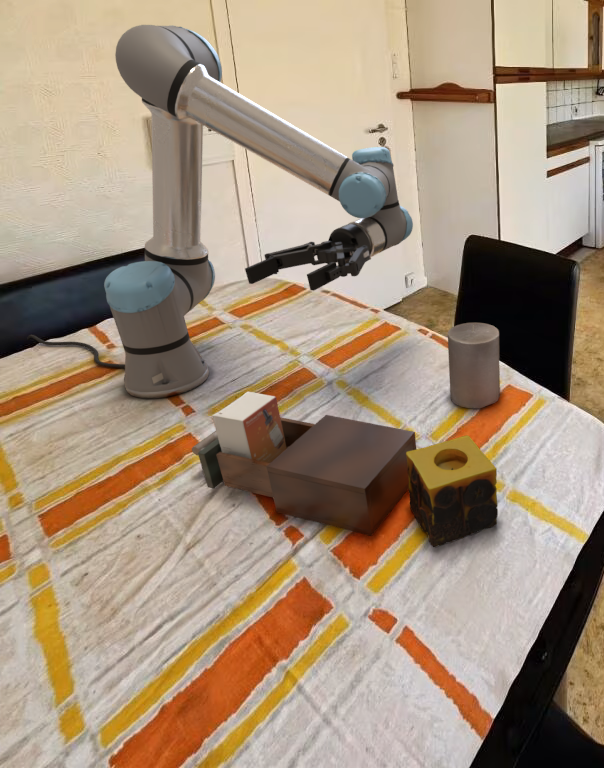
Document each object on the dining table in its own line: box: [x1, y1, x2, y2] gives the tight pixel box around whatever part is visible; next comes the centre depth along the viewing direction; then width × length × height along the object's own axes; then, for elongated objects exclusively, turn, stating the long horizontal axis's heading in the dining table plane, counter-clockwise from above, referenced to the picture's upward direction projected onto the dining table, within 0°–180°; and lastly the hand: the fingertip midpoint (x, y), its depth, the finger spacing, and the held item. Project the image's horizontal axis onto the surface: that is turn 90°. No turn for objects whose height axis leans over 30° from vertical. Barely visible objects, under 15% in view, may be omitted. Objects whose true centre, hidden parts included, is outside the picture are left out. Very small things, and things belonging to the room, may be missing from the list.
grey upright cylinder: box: [447, 322, 501, 409], centre depth 118 cm, size 10×10×15 cm
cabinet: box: [266, 414, 417, 537], centre depth 93 cm, size 16×15×8 cm
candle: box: [406, 434, 499, 548], centre depth 88 cm, size 10×10×10 cm
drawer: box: [191, 416, 316, 498], centre depth 98 cm, size 20×14×6 cm
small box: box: [212, 391, 287, 463], centre depth 96 cm, size 8×6×10 cm
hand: (278, 279), depth 104 cm, fingers open, 13 cm apart
